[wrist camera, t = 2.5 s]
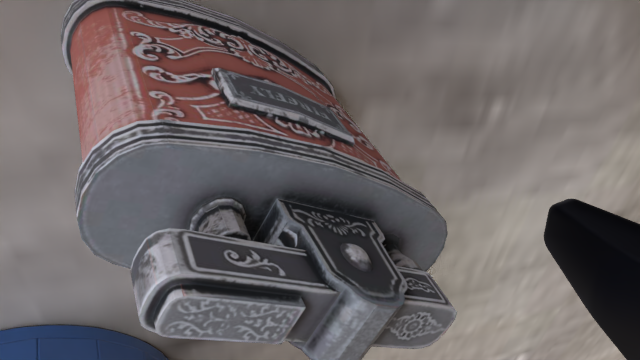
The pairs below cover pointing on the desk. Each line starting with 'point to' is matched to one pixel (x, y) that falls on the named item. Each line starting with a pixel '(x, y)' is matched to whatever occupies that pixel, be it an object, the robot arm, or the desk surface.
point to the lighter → (242, 188)
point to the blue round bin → (73, 344)
